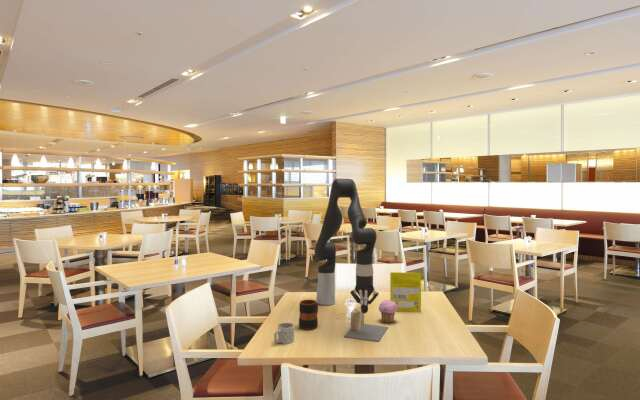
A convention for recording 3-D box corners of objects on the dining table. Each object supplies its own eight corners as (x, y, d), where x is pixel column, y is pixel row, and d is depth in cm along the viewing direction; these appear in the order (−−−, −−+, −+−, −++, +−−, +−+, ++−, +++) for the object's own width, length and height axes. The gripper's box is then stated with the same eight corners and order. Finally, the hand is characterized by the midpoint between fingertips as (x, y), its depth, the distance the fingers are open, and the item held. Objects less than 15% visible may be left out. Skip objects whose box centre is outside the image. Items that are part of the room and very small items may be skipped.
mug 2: (325, 324, 201) (325, 299, 200) (310, 331, 191) (310, 305, 190) (309, 320, 206) (309, 296, 205) (295, 328, 196) (294, 302, 195)
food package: (420, 311, 219) (420, 272, 218) (421, 312, 218) (421, 273, 217) (390, 310, 220) (390, 272, 220) (390, 311, 219) (390, 272, 218)
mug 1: (285, 336, 185) (285, 321, 185) (297, 340, 181) (297, 324, 180) (268, 343, 177) (268, 327, 177) (280, 347, 173) (280, 331, 173)
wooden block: (350, 312, 191) (357, 305, 200) (350, 329, 191) (357, 322, 201) (357, 312, 190) (364, 306, 199) (357, 330, 190) (364, 323, 199)
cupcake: (380, 317, 210) (380, 297, 209) (398, 319, 207) (398, 298, 207) (377, 323, 202) (377, 302, 201) (395, 325, 199) (395, 303, 198)
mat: (344, 337, 184) (344, 336, 184) (356, 324, 201) (356, 322, 201) (378, 341, 178) (378, 340, 178) (388, 327, 195) (388, 326, 195)
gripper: (347, 274, 188) (347, 313, 188) (377, 276, 183) (377, 317, 183) (352, 271, 194) (352, 309, 195) (381, 273, 190) (381, 312, 190)
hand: (364, 312), depth 189 cm, fingers closed
